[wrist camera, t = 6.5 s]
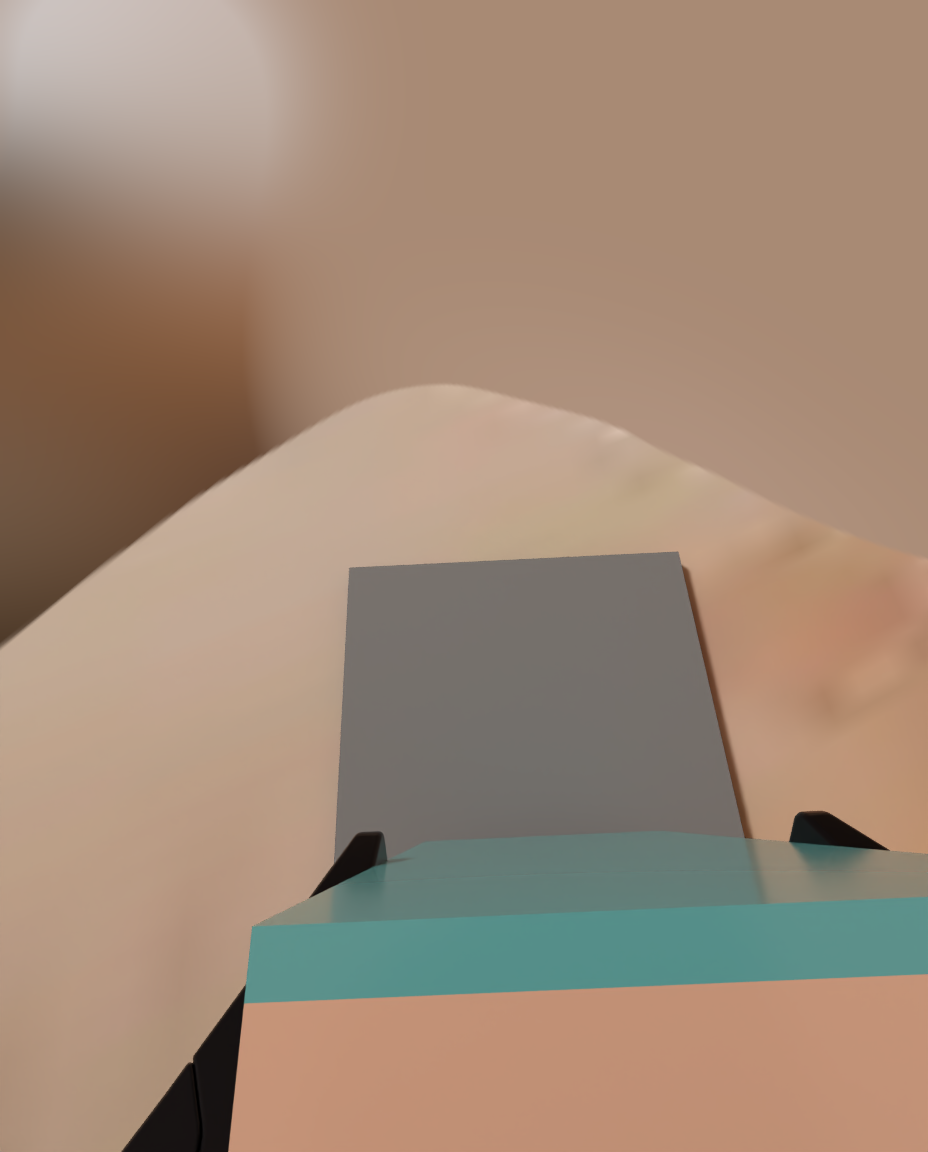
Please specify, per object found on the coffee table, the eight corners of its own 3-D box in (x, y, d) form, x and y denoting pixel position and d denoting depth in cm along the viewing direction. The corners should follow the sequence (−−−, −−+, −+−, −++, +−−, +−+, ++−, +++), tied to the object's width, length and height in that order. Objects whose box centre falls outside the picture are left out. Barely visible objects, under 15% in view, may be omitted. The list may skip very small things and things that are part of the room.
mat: (768, 986, 14) (780, 993, 14) (332, 1005, 14) (326, 1012, 14) (672, 558, 20) (678, 551, 19) (352, 574, 20) (349, 567, 19)
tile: (679, 941, 13) (1630, 1537, 2) (426, 952, 13) (181, 1586, 2) (660, 830, 14) (1250, 881, 3) (425, 841, 14) (252, 925, 3)
